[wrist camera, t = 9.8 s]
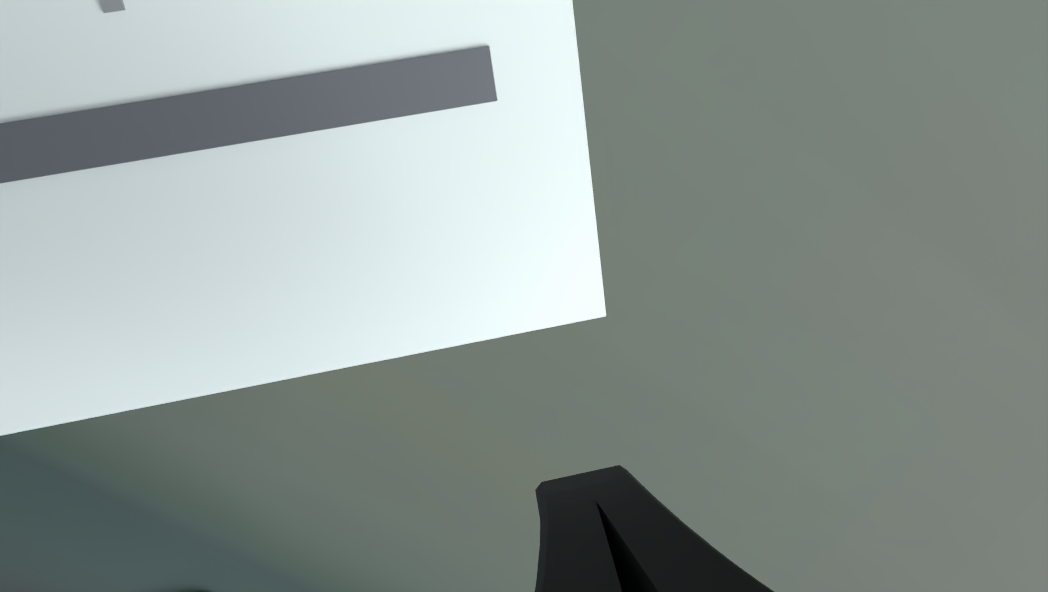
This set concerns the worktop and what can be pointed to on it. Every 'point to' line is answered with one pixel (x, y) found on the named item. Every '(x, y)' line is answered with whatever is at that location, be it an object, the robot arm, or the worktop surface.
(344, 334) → the fader console
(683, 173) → the worktop surface
